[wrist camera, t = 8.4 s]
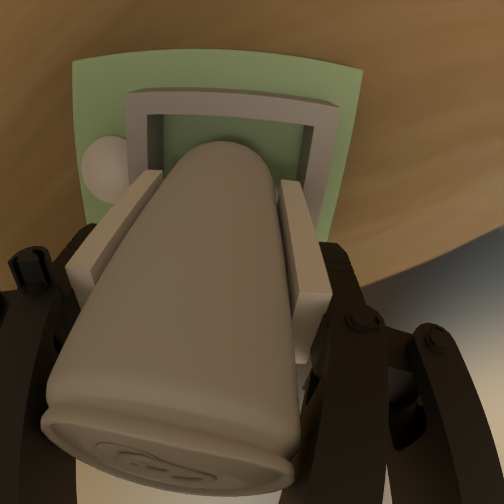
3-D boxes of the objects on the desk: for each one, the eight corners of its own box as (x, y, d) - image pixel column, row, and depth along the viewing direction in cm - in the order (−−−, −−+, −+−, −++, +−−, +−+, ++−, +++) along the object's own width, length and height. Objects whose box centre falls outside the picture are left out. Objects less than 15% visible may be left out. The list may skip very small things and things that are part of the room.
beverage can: (217, 115, 12) (56, 376, 2) (297, 185, 14) (360, 474, 4) (154, 192, 14) (23, 434, 4) (228, 248, 16) (199, 499, 6)
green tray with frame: (102, 246, 20) (79, 282, 17) (85, 59, 13) (45, 64, 9) (312, 266, 21) (321, 307, 17) (354, 69, 13) (381, 72, 10)
